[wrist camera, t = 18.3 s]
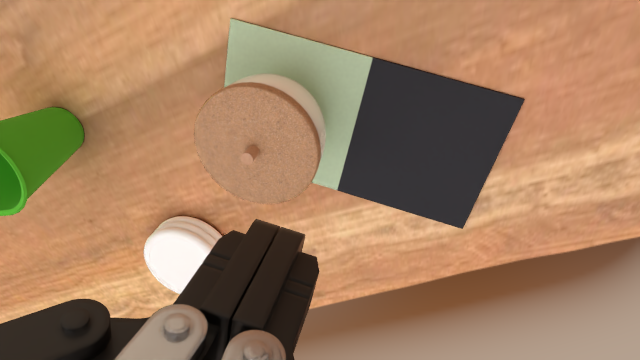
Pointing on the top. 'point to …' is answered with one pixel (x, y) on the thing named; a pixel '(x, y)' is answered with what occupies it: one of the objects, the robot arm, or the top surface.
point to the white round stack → (179, 250)
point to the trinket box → (261, 138)
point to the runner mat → (387, 122)
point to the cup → (34, 152)
